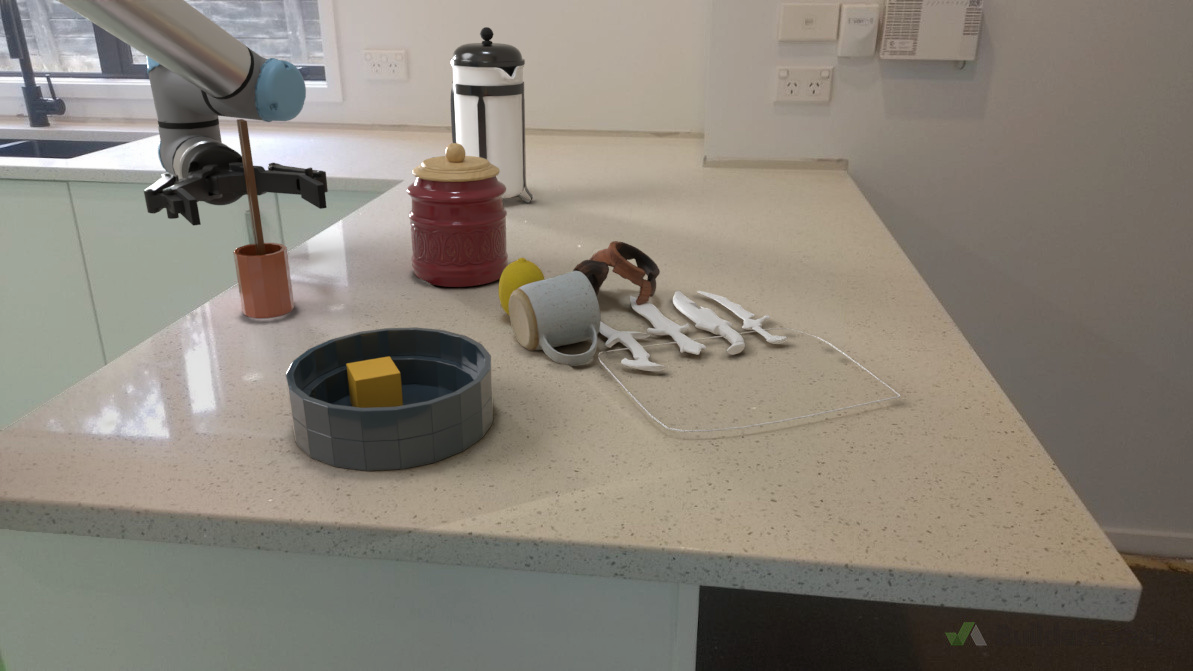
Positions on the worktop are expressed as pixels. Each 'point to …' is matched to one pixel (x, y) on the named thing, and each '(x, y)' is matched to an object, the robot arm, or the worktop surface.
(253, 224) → the chopsticks
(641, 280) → the broken clay pot
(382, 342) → the bowl
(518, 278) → the lemon
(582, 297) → the ceramic mug
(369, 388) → the block
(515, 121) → the coffee press
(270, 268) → the holder
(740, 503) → the worktop surface
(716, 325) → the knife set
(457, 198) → the kitchen canister
